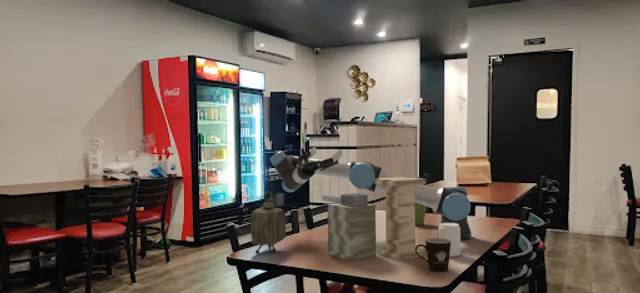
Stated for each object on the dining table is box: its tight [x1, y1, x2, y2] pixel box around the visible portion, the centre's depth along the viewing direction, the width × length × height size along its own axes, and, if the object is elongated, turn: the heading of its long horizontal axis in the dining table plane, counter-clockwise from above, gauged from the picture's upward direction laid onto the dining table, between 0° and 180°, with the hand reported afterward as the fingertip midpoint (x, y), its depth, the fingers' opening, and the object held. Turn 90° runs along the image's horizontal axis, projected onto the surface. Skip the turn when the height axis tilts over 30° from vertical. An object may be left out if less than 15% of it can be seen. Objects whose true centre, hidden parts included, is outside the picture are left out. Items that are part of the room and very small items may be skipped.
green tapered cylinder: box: [415, 202, 428, 226], centre depth 243 cm, size 12×12×11 cm
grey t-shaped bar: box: [321, 192, 369, 207], centre depth 183 cm, size 24×7×4 cm, turn 35°
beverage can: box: [438, 222, 462, 258], centre depth 176 cm, size 8×8×12 cm
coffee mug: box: [415, 237, 451, 273], centre depth 157 cm, size 12×9×10 cm
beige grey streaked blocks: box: [327, 176, 427, 262], centre depth 178 cm, size 26×28×30 cm
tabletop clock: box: [250, 190, 287, 255], centre depth 186 cm, size 14×9×25 cm, turn 159°
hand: (328, 150), depth 192 cm, fingers open, 13 cm apart
